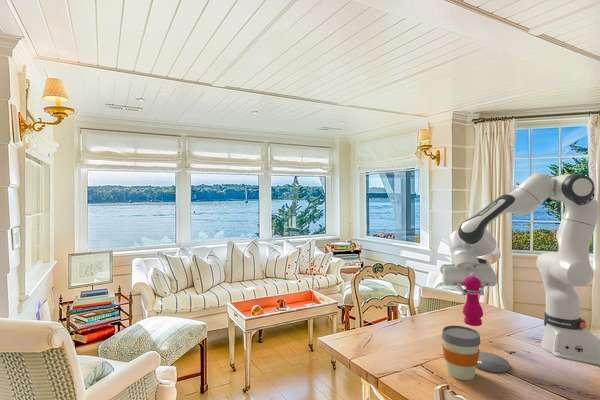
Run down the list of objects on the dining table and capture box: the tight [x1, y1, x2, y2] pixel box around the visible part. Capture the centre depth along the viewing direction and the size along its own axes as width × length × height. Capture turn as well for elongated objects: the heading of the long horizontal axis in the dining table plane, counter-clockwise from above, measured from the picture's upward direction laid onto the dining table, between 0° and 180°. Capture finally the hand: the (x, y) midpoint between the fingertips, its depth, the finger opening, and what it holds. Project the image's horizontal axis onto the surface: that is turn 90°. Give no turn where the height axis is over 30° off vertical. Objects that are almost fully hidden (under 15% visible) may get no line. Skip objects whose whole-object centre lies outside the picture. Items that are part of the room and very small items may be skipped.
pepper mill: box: [462, 273, 484, 327], centre depth 139 cm, size 7×7×20 cm
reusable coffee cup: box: [441, 324, 481, 381], centre depth 126 cm, size 12×13×15 cm
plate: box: [476, 351, 511, 374], centre depth 133 cm, size 14×14×1 cm
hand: (473, 294), depth 139 cm, fingers closed on pepper mill, 5 cm apart
